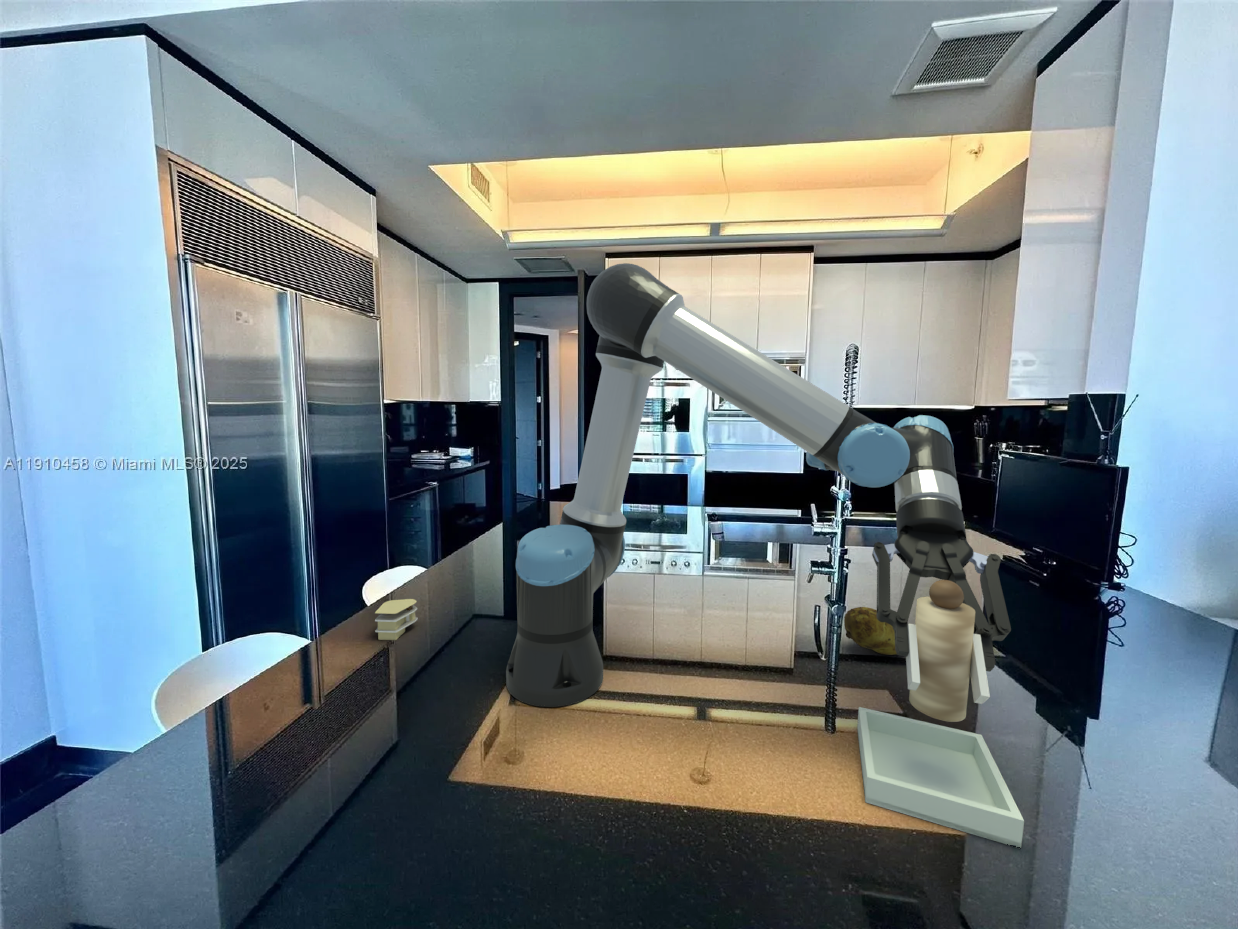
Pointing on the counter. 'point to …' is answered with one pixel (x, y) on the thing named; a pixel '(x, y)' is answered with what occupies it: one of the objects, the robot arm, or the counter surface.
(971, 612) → the pepper mill
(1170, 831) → the counter surface
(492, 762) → the counter surface
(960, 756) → the bin
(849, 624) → the potato
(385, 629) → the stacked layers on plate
